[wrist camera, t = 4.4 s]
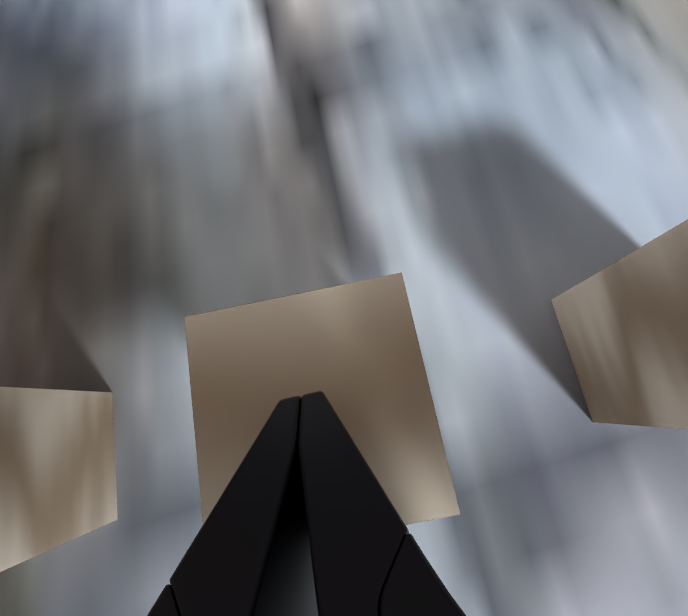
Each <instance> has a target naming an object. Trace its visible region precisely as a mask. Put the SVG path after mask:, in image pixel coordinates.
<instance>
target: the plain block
mask: <svg viewBox="0 0 688 616" xmlns="http://www.w3.org/2000/svg"><path fill="white" fill-rule="evenodd" d="M185 329H186V340H187V351H188V362H189V373H190V384H191V396H192V407H193V418H194V429H195V440H196V451H197V463H198V474H199V485H200V496H201V507H202V518H203V524H204V523H205V521H206V519H207V518H208V516H209V514H210V513H211V511H212V510H213V508H214V506H215V505H216V503H217V501H218V500H219V498H220V496H221V495H222V493H223V492H224V490H225V488H226V487H227V485H228V483H229V482H230V480H231V478H232V477H233V475H234V474H235V472H236V470H237V469H238V467H239V465H240V464H241V462H242V461H243V459H244V457H245V456H246V454H247V452H248V451H249V449H250V447H251V446H252V444H253V443H254V441H255V439H256V438H257V436H258V434H259V433H260V431H261V429H262V428H263V426H264V425H265V423H266V421H267V420H268V418H269V416H270V415H271V413H272V411H273V410H274V408H275V407H276V405H277V403H278V402H279V401H280V400H282V399H285V398H289V397H294V396H300V397H301V398H302V396H303V395H304V394H308V393H312V392H317V391H322V392H323V393H324V394H325V396H326V397H327V399H328V400H329V402H330V404H331V405H332V407H333V408H334V410H335V412H336V413H337V415H338V417H339V418H340V420H341V421H342V423H343V425H344V426H345V428H346V430H347V431H348V433H349V434H350V436H351V438H352V439H353V441H354V443H355V444H356V446H357V447H358V449H359V451H360V452H361V454H362V455H363V457H364V459H365V460H366V462H367V464H368V465H369V467H370V468H371V470H372V472H373V473H374V475H375V477H376V478H377V480H378V481H379V483H380V485H381V486H382V488H383V490H384V491H385V493H386V494H387V496H388V498H389V499H390V501H391V502H392V504H393V506H394V507H395V509H396V511H397V512H398V514H399V515H400V517H401V519H402V520H403V522H404V524H405V525H408V524H413V523H418V522H423V521H429V520H434V519H439V518H444V517H450V516H455V515H460V511H459V507H458V503H457V499H456V495H455V491H454V487H453V483H452V478H451V474H450V470H449V466H448V462H447V458H446V454H445V449H444V445H443V441H442V437H441V433H440V429H439V425H438V421H437V416H436V412H435V408H434V404H433V400H432V396H431V392H430V387H429V383H428V379H427V375H426V371H425V367H424V363H423V359H422V354H421V350H420V346H419V342H418V338H417V334H416V330H415V326H414V321H413V317H412V313H411V309H410V305H409V301H408V297H407V292H406V288H405V284H404V280H403V276H402V273H397V274H392V275H387V276H383V277H378V278H373V279H368V280H363V281H358V282H353V283H348V284H343V285H338V286H334V287H329V288H324V289H319V290H314V291H309V292H304V293H299V294H294V295H289V296H285V297H280V298H275V299H270V300H265V301H260V302H255V303H250V304H245V305H240V306H236V307H231V308H226V309H221V310H216V311H211V312H206V313H201V314H196V315H191V316H187V317H185Z"/></svg>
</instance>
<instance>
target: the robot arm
mask: <svg viewBox="0 0 688 616" xmlns="http://www.w3.org/2000/svg"><path fill="white" fill-rule="evenodd" d="M170 584H171V585H170ZM170 584H168V585H166V586H165V588H164V589H163V591H162V593H161V594H160V596H159V597H158V599H157V601H156V602H155V604H154V606H153V607H152V609H151V610H150V612H149V614H148V615H147V616H466V615H465V614H464V612H463V611H462V610H461V608H460V607H459V605H458V604H457V603H456V601H455V600H454V599H453V597H452V596H451V595H450V593H449V592H448V590H447V589H446V587H445V586H444V584H443V583H442V581H441V580H440V578H439V577H438V575H437V574H436V572H435V571H434V569H433V568H432V566H431V565H430V563H429V562H428V560H427V559H426V557H425V556H424V554H423V552H422V551H421V549H420V547H419V546H418V544H417V543H416V541H415V539H414V538H413V536H412V535H411V534H409V531H408V528H407V527H406V525H405V524H404V522H403V520H402V519H401V517H400V515H399V514H398V512H397V511H396V509H395V507H394V506H393V504H392V502H391V501H390V499H389V498H388V496H387V494H386V493H385V491H384V490H383V488H382V486H381V485H380V483H379V481H378V480H377V478H376V477H375V475H374V473H373V472H372V470H371V468H370V467H369V465H368V464H367V462H366V460H365V459H364V457H363V455H362V454H361V452H360V451H359V449H358V447H357V446H356V444H355V443H354V441H353V439H352V438H351V436H350V434H349V433H348V431H347V430H346V428H345V426H344V425H343V423H342V421H341V420H340V418H339V417H338V415H337V413H336V412H335V410H334V408H333V407H332V405H331V404H330V402H329V400H328V399H327V397H326V396H325V394H324V393H323V392H322V391H317V392H312V393H308V394H304V395H303V396H302V398H301V397H300V396H294V397H289V398H285V399H282V400H280V401H279V402H278V403H277V405H276V407H275V408H274V410H273V411H272V413H271V415H270V416H269V418H268V420H267V421H266V423H265V425H264V426H263V428H262V429H261V431H260V433H259V434H258V436H257V438H256V439H255V441H254V443H253V444H252V446H251V447H250V449H249V451H248V452H247V454H246V456H245V457H244V459H243V461H242V462H241V464H240V465H239V467H238V469H237V470H236V472H235V474H234V475H233V477H232V478H231V480H230V482H229V483H228V485H227V487H226V488H225V490H224V492H223V493H222V495H221V496H220V498H219V500H218V501H217V503H216V505H215V506H214V508H213V510H212V511H211V513H210V514H209V516H208V518H207V519H206V521H205V523H204V524H203V526H202V528H201V529H200V531H199V532H198V534H197V536H196V537H195V539H194V541H193V542H192V544H191V546H190V547H189V549H188V550H187V552H186V554H185V555H184V557H183V559H182V560H181V562H180V563H179V565H178V567H177V568H176V570H175V572H174V573H173V575H172V577H171V578H170Z"/></svg>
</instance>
